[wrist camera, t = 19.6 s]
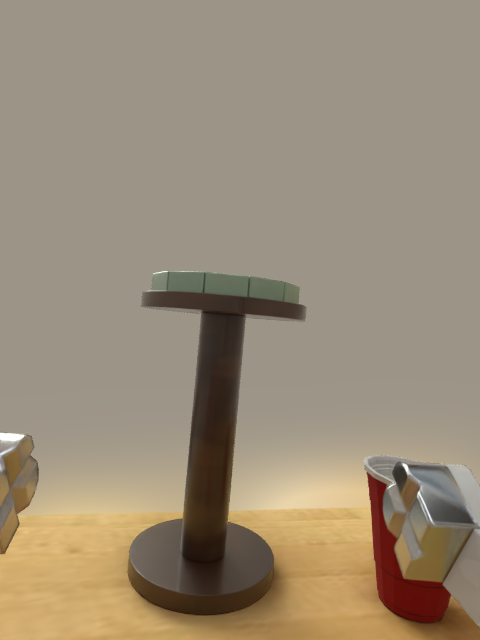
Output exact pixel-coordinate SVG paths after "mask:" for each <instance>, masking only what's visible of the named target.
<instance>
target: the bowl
mask: <svg viewBox="0 0 480 640" xmlns="http://www.w3.org/2000/svg"><path fill="white" fill-rule="evenodd" d="M299 290H300V287H298V286H295V285H292V284H289V283H286V282H283V281H277V280H271V279H265V278H259V277H252V276H250V277H249V276H244V275H234V274H222V273H212V272H190V271H189V272H187V271H165V272H160V273H154V274H153V276H152V288H151V291H183V292H198V293H212V294H223V295H234V296H244V297H253V298H262V299H269V300H277V301H284V302H290V303H295V304H298V302H299Z"/></svg>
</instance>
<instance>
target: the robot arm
mask: <svg viewBox="0 0 480 640" xmlns="http://www.w3.org/2000/svg"><path fill="white" fill-rule="evenodd" d="M33 449H34V444H33V440H32V436H30V435H27V434H16V433H6V432H0V554H5V552H6V550H7V548H8V546H9V544H10V542H11V540H12V538H13V536H14V534H15V532H16V530H17V528H18V526H19V520H18V516H17V514H18V513H19V512H21V511H22V510H24V509H25V508H26V507H28V506H29V504H30V502H31V500H32V498H33V496H34V494H35V490H36V486H37V483H38V473H39V472H38V471H39V469H38V463H37V461H36V460H35V459H34V458H33V457H32V456H30V454H31V452H32V450H33ZM392 475H393V477H394V480H395V481H393V482H392V483H390V484H389V485H387V486H386V489H385V492H384V495H383V514H384V520H385V523H386V526H387V529H388V530H389V531H390V532H391V533H392V534H393V535H394V536H395V537H396V538H397V541H396V544H395V546H394V551H395V554H396V557H397V561H398V564H399V567H400V570H401V573H402V576H403V579H411V580H422V581H433V582H444V583H443V586H444V587H445V588H446V589H447V590H448V592H449V593H450V594H451V595H452V596H453V597H454V599H455V600H456V601H457V602H458V603H459V605H460V606H461V607H462V608H463V609H464V610H465V612H466V613H467V614H468V615H469V616H470V617H471V619H472V620H473V621H474V622H475V623H476V625H477V626H478V627H479V628H480V485H479V483H478V481H477V480H476V478H475V476H474V475H473V473H472V471H471V470H470V469H469V468H468V467H467V466H466V465H452V464H439V463H423V462H407V461H399V462H397V463H396V464H395V466H394V468H393V471H392Z"/></svg>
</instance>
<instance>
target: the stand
mask: <svg viewBox="0 0 480 640" xmlns="http://www.w3.org/2000/svg"><path fill="white" fill-rule="evenodd" d="M141 307H145V308H151V309H159V310H168V311H177V312H187V313H196V314H201V323H200V335H199V345H198V356H197V368H196V379H195V389H194V402H193V412H192V423H191V434H190V445H189V456H188V468H187V478H186V490H185V501H184V512H183V519H176V520H171V521H166V522H163V523H160V524H157V525H154V526H152V527H150V528H148V529H146V530H145V531H143V532H142V533H141V534H140V535H138V536H137V537H136V539H135V540H134V541H133V543H132V545H131V547H130V551H129V560H128V576H129V579H130V581H131V584H132V585H133V587H134V588H135V589H136V590H137V591H138V592H139V593H140V594H141V595H142V596H143V597H145V598H146V599H147V600H149V601H151V602H153V603H154V604H156V605H159V606H161V607H164V608H166V609H170V610H173V611H177V612H182V613H188V614H199V615H210V614H221V613H227V612H232V611H235V610H239V609H242V608H244V607H247V606H249V605H251V604H252V603H254V602H256V601H257V600H259V599H260V598H261V597H262V596H263V595H264V594H265V593H266V592H267V590H268V589H269V587H270V585H271V582H272V577H273V566H274V556H273V553H272V550H271V548H270V547H269V545H268V544H267V543H266V541H265V540H263V539H262V538H261V537H260V536H259V535H257V534H256V533H254V532H252V531H251V530H249V529H247V528H245V527H242V526H240V525H237V524H234V523H230V522H228V512H229V501H230V489H231V478H232V466H233V456H234V444H235V433H236V422H237V411H238V399H239V388H240V377H241V365H242V354H243V343H244V331H245V320H246V318H253V319H265V320H280V321H299V322H300V321H301V322H303V321H305V317H306V306H304V305H300V304H295V303H290V302H284V301H277V300H269V299H262V298H253V297H244V296H234V295H223V294H212V293H198V292H183V291H144V292H142V302H141Z"/></svg>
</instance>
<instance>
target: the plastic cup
mask: <svg viewBox="0 0 480 640" xmlns="http://www.w3.org/2000/svg"><path fill="white" fill-rule="evenodd" d="M399 461H407V462H420V461H415V460H411V459H406V458H401V457H393V456H387V455H384V456H383V455H380V456H379V455H378V456H370V457H367V458H364V467H365V470H366V471H367V476H368V486H369V496H370V500H371V516H372V532H373V549H374V560H375V563H376V578H377V590H378V591H379V598H380V599H381V601H382V602H383V603H384V605H385V606H387V607H388V608H389V609H390V610H392V611H393V612H394V613H396V614H398V615H400V616H403V617H405V618H407V619H410V620H414V621H418V622H436V621H438V620H440V619H442V617H443V615H444V613H445V611H446V609H447V607H448V604H449V600H450V596H451V594H450V593H449V592H448V590H447V589H446V588H445V587H444V586H443V583H444V582H433V581H422V580H411V579H403V576H402V573H401V570H400V567H399V564H398V561H397V557H396V554H395V551H394V546H395V544H396V541H397V538H396V537H395V536H394V535H393V534H392V533H391V532H390V531H389V530H388V529H387V526H386V523H385V520H384V514H383V495H384V492H385V489H386V486H387V485H389V484H390V483H392V482H393V481H395V480H394V477H393V475H392V471H393V468H394V466H395V464H396V463H397V462H399ZM423 463H424V462H423Z"/></svg>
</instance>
